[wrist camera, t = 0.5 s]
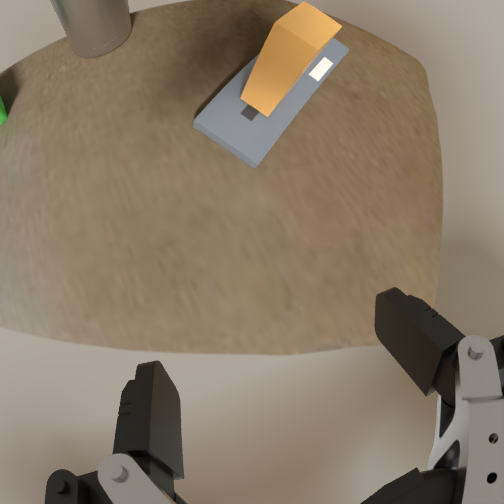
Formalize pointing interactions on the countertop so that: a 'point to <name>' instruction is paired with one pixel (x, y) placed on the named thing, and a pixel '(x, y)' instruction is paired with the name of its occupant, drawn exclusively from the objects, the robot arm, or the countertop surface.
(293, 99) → the switch panel
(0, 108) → the fruit basket
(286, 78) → the slider tab
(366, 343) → the countertop surface
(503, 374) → the robot arm
